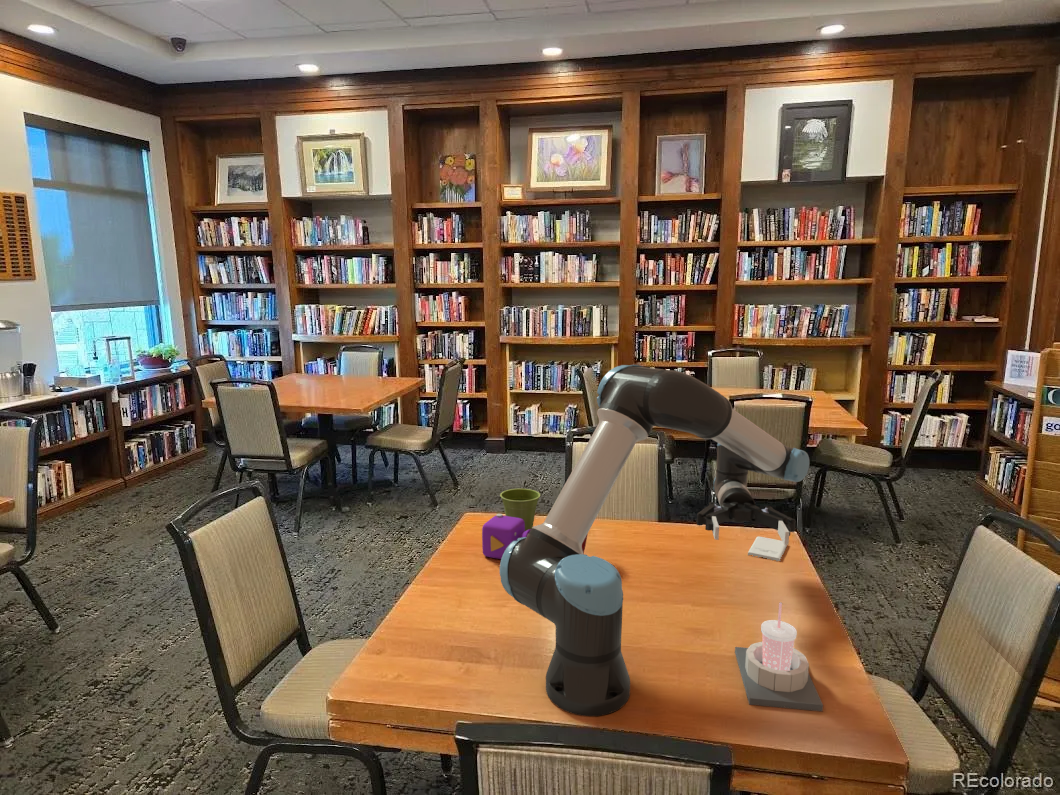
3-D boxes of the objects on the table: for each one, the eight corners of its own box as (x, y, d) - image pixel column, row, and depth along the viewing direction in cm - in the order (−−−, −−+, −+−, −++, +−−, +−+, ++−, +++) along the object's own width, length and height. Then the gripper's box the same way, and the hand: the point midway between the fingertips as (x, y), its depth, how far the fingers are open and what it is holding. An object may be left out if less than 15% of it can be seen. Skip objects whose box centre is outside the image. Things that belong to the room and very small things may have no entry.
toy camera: (530, 565, 165) (530, 528, 163) (479, 560, 168) (479, 525, 166) (538, 548, 176) (538, 514, 174) (490, 544, 178) (489, 510, 176)
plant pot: (545, 536, 184) (544, 499, 182) (505, 540, 181) (504, 502, 179) (534, 521, 195) (534, 486, 193) (497, 525, 192) (496, 489, 190)
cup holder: (749, 704, 110) (750, 680, 109) (734, 652, 125) (736, 631, 125) (822, 711, 108) (824, 687, 107) (798, 657, 124) (800, 636, 123)
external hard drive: (787, 547, 177) (779, 563, 166) (756, 541, 181) (747, 557, 170) (787, 541, 177) (779, 558, 166) (757, 535, 181) (747, 551, 170)
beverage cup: (789, 665, 119) (794, 596, 117) (797, 685, 113) (802, 612, 111) (755, 662, 120) (759, 593, 118) (761, 681, 114) (765, 609, 112)
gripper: (790, 521, 148) (815, 558, 127) (681, 513, 152) (687, 548, 131) (793, 490, 146) (818, 522, 126) (682, 483, 151) (689, 514, 130)
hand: (751, 536), depth 128 cm, fingers open, 13 cm apart
